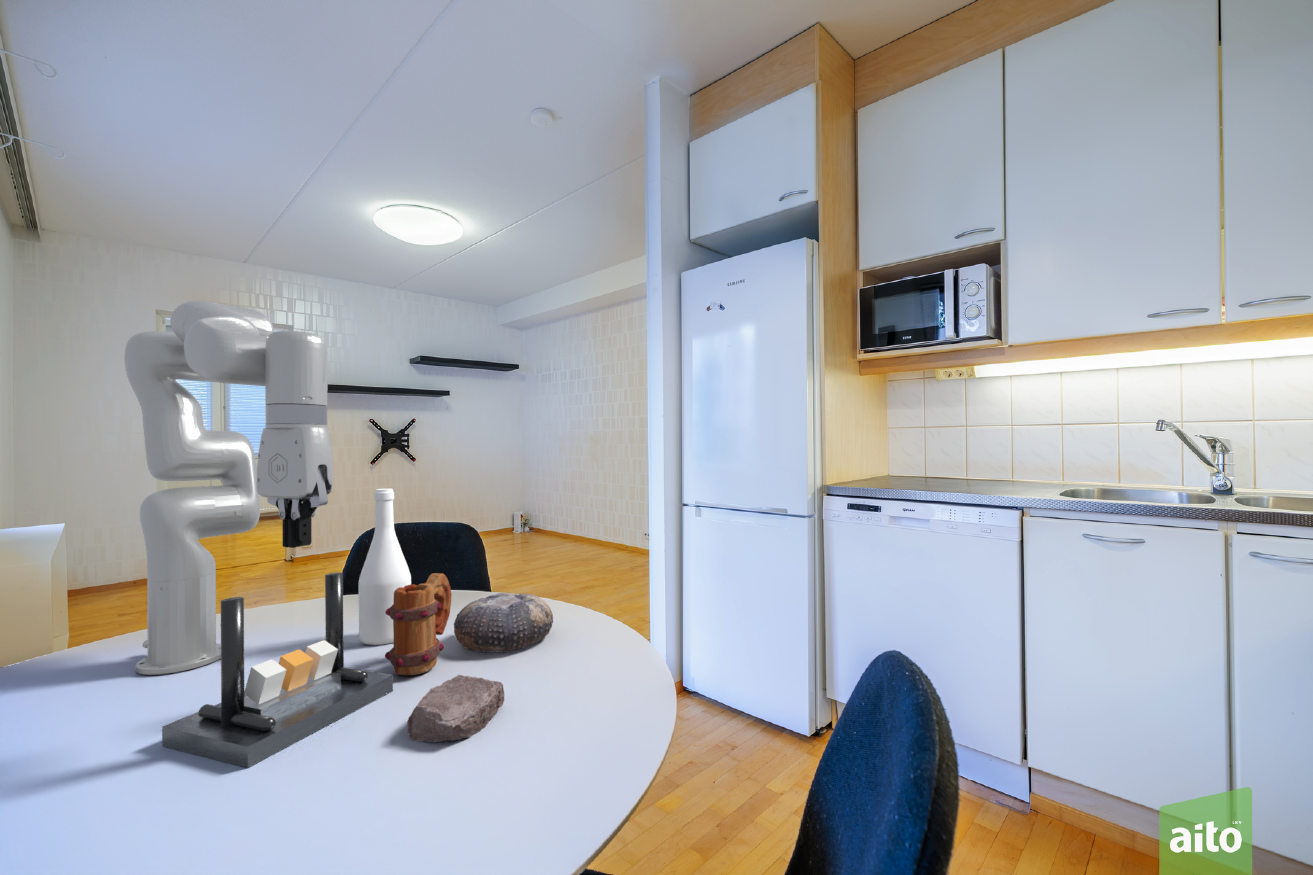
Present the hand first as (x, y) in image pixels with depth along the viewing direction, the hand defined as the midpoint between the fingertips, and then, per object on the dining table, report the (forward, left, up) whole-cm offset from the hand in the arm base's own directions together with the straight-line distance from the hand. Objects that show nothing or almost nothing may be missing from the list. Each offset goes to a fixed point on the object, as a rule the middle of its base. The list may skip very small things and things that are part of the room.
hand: (297, 545), depth 80 cm
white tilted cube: (-1, -5, -20) cm, 21 cm away
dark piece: (-1, -1, -24) cm, 24 cm away
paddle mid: (-1, -1, -20) cm, 20 cm away
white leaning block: (-1, +3, -20) cm, 20 cm away
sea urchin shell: (+10, +35, -25) cm, 44 cm away
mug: (+4, +20, -24) cm, 32 cm away
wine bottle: (-14, +29, -24) cm, 41 cm away
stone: (+24, +5, -25) cm, 35 cm away
